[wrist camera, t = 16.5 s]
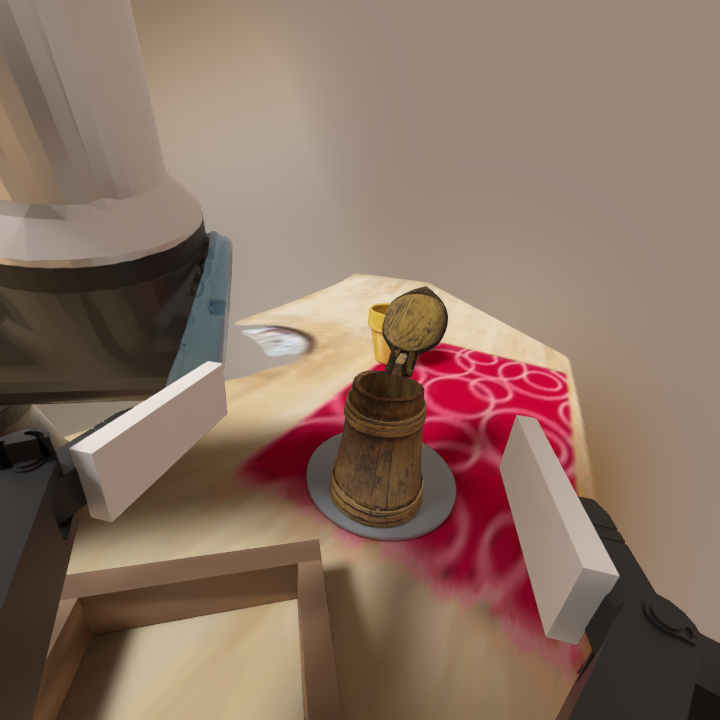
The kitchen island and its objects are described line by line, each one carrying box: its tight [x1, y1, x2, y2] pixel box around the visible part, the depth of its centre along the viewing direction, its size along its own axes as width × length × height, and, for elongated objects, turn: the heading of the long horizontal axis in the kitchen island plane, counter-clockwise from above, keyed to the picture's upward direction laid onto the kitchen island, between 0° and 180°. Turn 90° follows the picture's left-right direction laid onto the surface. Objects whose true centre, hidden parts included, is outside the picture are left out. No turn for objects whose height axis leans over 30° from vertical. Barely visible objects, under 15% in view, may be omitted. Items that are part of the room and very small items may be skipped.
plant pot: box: [368, 303, 410, 365], centre depth 62 cm, size 10×10×10 cm
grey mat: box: [307, 433, 456, 541], centre depth 34 cm, size 15×15×1 cm
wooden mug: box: [329, 286, 448, 528], centre depth 30 cm, size 9×14×18 cm, turn 157°
